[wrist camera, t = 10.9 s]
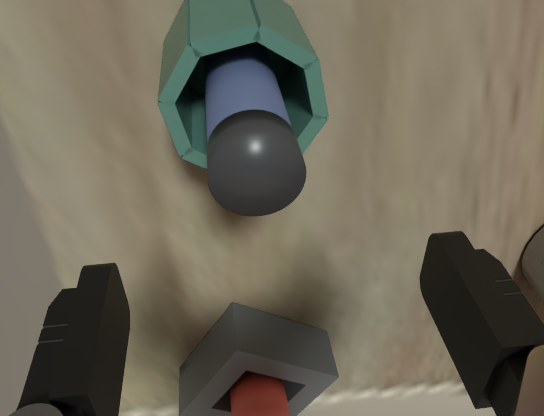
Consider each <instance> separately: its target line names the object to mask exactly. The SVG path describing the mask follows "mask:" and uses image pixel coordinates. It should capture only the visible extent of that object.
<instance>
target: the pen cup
mask: <svg viewBox="0 0 544 416" xmlns="http://www.w3.org/2000/svg"><path fill="white" fill-rule="evenodd" d="M256 41H257V42H258V43H260V44H262V45H264V46H265V47H267V50H268V53H269V57H270V60H271V63H272V66H273V69H274V73H275V76H276V79H277V82H278V85H279V88H280V92H281V95H282V98H283V101H284V104H285V107H286V111H287V114H288V117H289V120H290V123H291V126H292V128H293V130H294V132H295V134H296V137H297V140H298V144H299V147H300V150H301V153H302V154H303V153H304V151H305V150H306V148H307V147H308V146H309V144H310V143H311V142H312V140H313V139H314V138H315V136H316V135H317V134H318V132H319V131H320V130H321V128H322V127H323V126H324V124H325V123H326V122H327V120H328V119H327V117H328V116H329V115H328V109H327V104H326V98H325V92H324V86H323V80H322V74H321V68H320V62H319V59H318V57H317V55H316V53H315V51H314V49H313V47H312V46H311V44H310V42H309V40H308V38H307V36H306V34H305V32H304V30H303V28H302V26H301V24H300V22H299V20H298V18H297V17H296V15H295V13H294V11H293V9H292V8H291V6H289V5H288V4H286V3H285V2H283V1H282V0H184V1H183V3H182V5H181V7H180V9H179V12H178V14H177V16H176V18H175V20H174V22H173V24H172V26H171V28H170V30H169V32H168V34H167V36H166V38H165V40H164V44H163V53H162V63H161V73H160V83H159V93H158V106H159V109H160V111H161V113H162V116H163V118H164V121H165V123H166V125H167V128H168V130H169V133H170V135H171V137H172V140H173V142H174V145H175V147H176V150H177V152H178V154H179V156H181V155H182V159H184V160H186V161H189V162H191V163H193V164H196V165H198V166H201V167H203V168H205V169H207V155H206V149H207V125H206V105H205V85H204V66H203V56H205V55H209V54H212V53H216V52H220V51H223V50H227V49H231V48H234V47H238V46H242V45H245V44H249V43H253V42H256Z"/></svg>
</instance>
